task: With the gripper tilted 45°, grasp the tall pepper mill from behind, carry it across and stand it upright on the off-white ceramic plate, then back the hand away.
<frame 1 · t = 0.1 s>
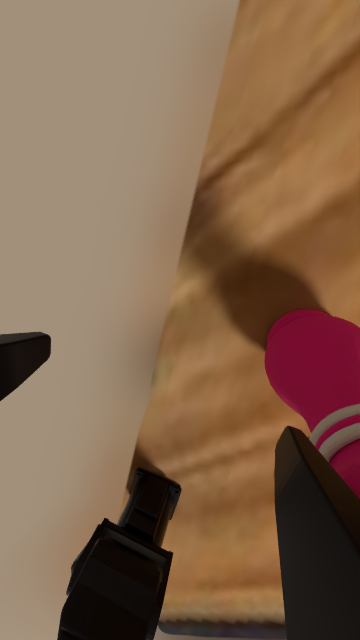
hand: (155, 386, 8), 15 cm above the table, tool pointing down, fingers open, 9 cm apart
pepper mill: (302, 341, 21), on the table
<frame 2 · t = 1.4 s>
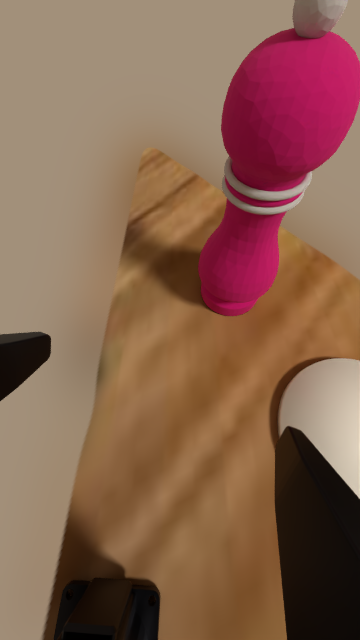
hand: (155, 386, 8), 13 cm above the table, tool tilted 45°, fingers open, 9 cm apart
ceramic plate: (356, 436, 19), on the table
pepper mill: (228, 292, 26), on the table
when the fingers open (12 cm above the table, at t = 8.9 s): pepper mill stays where it is, resting on ceramic plate.
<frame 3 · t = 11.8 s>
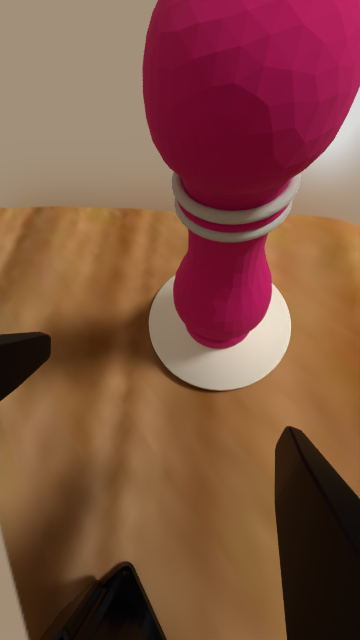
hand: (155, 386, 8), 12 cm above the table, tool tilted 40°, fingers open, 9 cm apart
ceramic plate: (216, 320, 22), on the table
pepper mill: (217, 318, 21), point 1 cm above the table, touching ceramic plate
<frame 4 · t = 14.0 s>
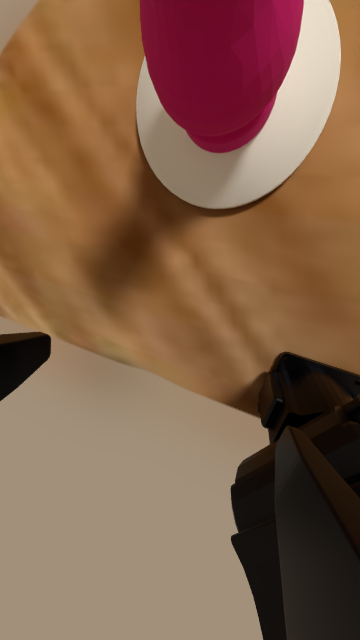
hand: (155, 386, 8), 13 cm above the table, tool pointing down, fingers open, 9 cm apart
ceramic plate: (227, 106, 16), on the table
pepper mill: (226, 100, 15), point 1 cm above the table, touching ceramic plate
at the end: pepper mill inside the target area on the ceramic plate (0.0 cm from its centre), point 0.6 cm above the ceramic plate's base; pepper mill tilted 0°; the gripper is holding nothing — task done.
